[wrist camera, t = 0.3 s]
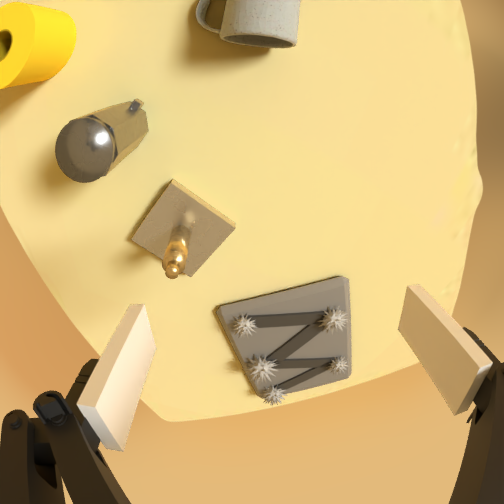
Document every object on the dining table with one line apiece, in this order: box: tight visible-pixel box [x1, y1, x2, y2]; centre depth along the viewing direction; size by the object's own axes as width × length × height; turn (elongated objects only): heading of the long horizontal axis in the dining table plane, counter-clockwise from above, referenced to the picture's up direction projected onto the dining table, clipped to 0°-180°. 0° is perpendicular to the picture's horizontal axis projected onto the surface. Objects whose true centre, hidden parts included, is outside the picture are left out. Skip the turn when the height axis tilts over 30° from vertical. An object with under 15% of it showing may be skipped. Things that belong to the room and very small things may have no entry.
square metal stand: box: [131, 179, 235, 279], centre depth 36 cm, size 10×10×10 cm
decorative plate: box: [216, 276, 351, 405], centre depth 53 cm, size 30×22×7 cm
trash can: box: [55, 99, 148, 183], centre depth 27 cm, size 8×6×12 cm
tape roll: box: [0, 2, 76, 89], centre depth 20 cm, size 10×10×9 cm
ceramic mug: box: [196, 0, 300, 48], centre depth 23 cm, size 11×8×8 cm
